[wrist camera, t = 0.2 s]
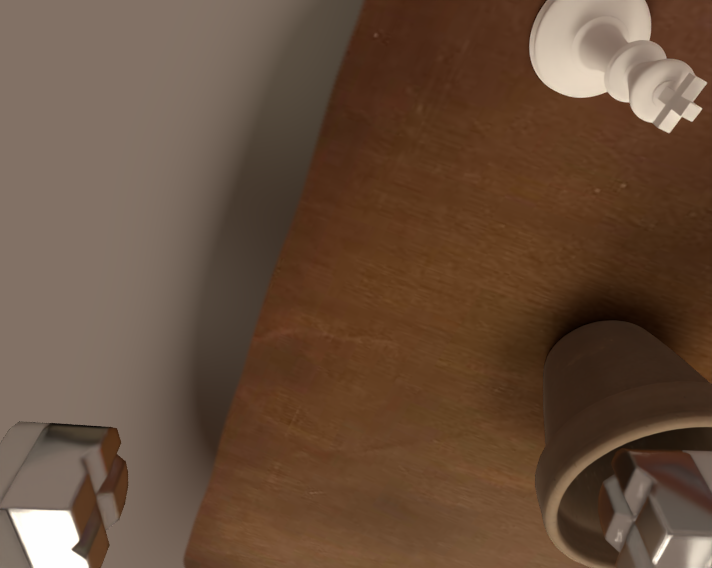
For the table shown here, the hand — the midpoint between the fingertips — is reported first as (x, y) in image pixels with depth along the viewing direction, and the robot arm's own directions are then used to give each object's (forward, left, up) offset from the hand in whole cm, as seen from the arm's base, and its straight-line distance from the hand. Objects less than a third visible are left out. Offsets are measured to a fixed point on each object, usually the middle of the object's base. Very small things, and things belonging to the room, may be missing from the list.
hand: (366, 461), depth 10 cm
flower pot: (+21, +5, -21) cm, 30 cm away
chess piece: (+2, +9, -21) cm, 23 cm away
